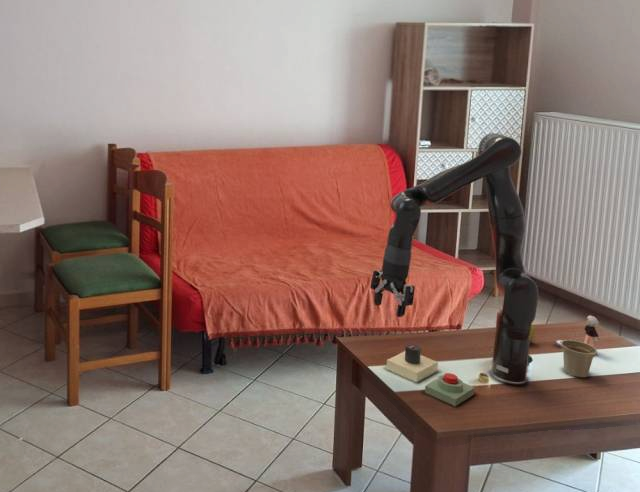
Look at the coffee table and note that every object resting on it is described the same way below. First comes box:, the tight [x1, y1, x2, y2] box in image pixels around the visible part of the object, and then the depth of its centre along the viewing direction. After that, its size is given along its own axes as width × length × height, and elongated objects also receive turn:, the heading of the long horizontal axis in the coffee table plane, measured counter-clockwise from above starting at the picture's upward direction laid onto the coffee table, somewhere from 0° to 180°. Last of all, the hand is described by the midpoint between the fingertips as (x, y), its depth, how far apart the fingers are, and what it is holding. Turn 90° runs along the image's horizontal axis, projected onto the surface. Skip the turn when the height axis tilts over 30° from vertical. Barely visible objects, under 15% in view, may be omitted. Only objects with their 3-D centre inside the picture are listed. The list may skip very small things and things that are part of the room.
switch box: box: [424, 374, 476, 407], centre depth 198 cm, size 11×9×4 cm
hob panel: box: [385, 350, 439, 383], centre depth 212 cm, size 12×10×3 cm
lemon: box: [530, 324, 535, 342], centre depth 232 cm, size 6×6×8 cm
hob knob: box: [404, 343, 422, 364], centre depth 211 cm, size 4×4×5 cm
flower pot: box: [560, 339, 598, 378], centre depth 212 cm, size 9×9×9 cm
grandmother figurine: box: [583, 315, 600, 348], centre depth 226 cm, size 8×4×13 cm, turn 5°
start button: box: [443, 372, 458, 384], centre depth 198 cm, size 4×4×2 cm
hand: (388, 310), depth 209 cm, fingers open, 8 cm apart
